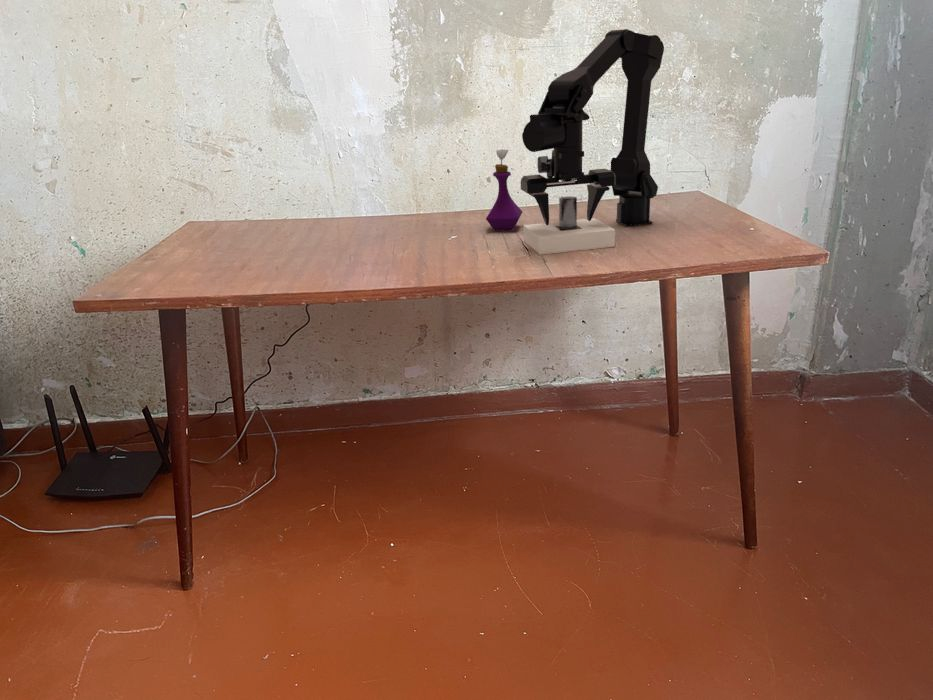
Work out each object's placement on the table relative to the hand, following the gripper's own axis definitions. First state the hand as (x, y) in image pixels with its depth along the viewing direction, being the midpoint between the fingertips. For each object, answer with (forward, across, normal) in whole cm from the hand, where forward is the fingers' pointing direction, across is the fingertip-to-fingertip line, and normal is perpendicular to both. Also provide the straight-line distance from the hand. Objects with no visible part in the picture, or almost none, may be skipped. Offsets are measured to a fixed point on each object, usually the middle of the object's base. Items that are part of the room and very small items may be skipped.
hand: (568, 222), depth 148 cm
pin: (+4, 0, 0) cm, 4 cm away
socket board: (+4, 0, 0) cm, 4 cm away
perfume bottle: (+5, +9, -19) cm, 22 cm away
